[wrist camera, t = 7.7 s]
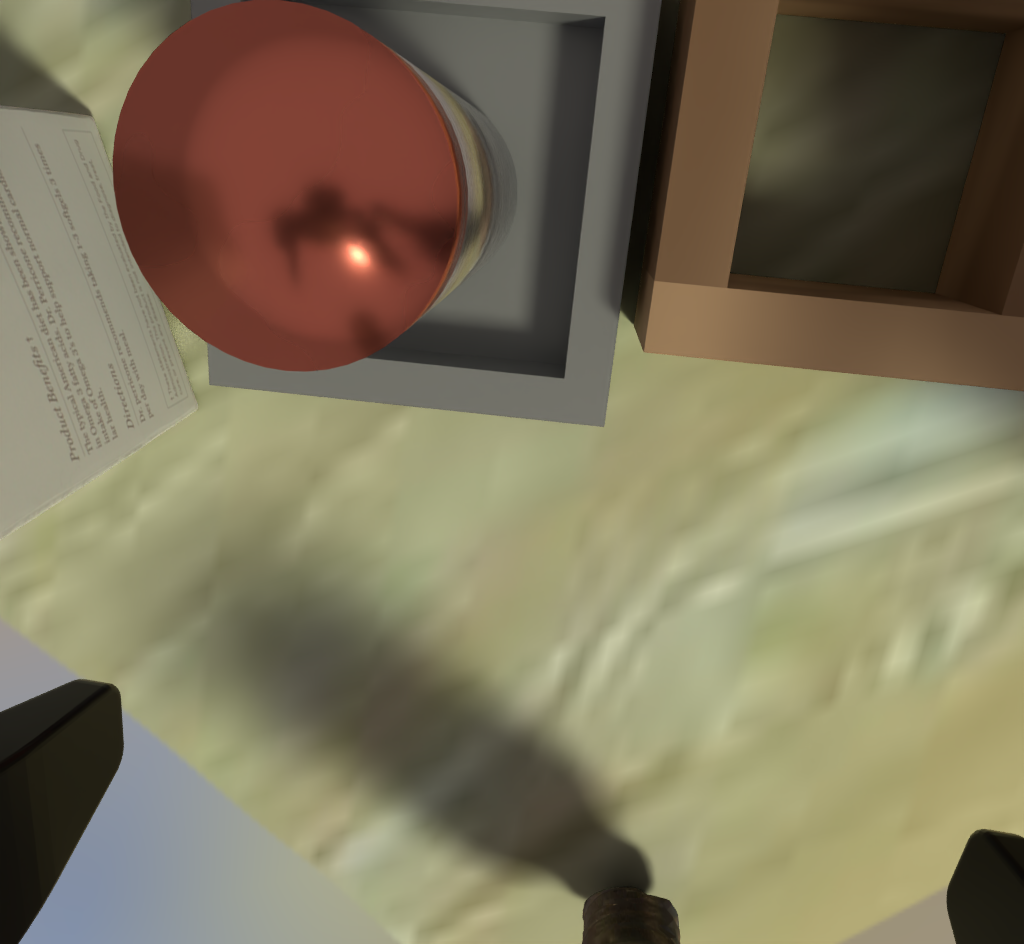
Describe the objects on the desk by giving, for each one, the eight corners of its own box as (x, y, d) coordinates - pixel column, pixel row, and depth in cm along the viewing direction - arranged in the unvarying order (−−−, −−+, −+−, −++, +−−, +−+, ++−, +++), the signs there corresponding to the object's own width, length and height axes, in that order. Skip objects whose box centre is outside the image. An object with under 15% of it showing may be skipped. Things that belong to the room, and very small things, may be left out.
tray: (657, -19, 16) (667, -42, 15) (601, 404, 19) (603, 426, 18) (226, -55, 17) (186, -81, 15) (240, 366, 20) (209, 385, 18)
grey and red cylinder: (525, 99, 17) (467, 14, 8) (510, 292, 18) (446, 387, 10) (338, 84, 17) (95, -15, 8) (337, 275, 18) (128, 354, 10)
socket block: (1101, -41, 16) (1216, -88, 13) (979, 360, 18) (1052, 394, 16) (691, -75, 16) (714, -128, 13) (633, 326, 19) (643, 351, 16)
